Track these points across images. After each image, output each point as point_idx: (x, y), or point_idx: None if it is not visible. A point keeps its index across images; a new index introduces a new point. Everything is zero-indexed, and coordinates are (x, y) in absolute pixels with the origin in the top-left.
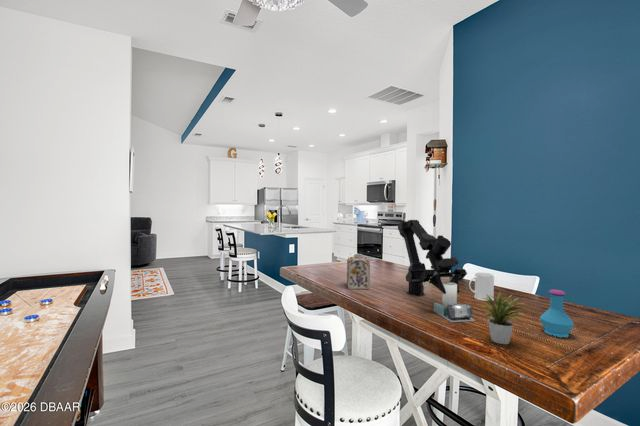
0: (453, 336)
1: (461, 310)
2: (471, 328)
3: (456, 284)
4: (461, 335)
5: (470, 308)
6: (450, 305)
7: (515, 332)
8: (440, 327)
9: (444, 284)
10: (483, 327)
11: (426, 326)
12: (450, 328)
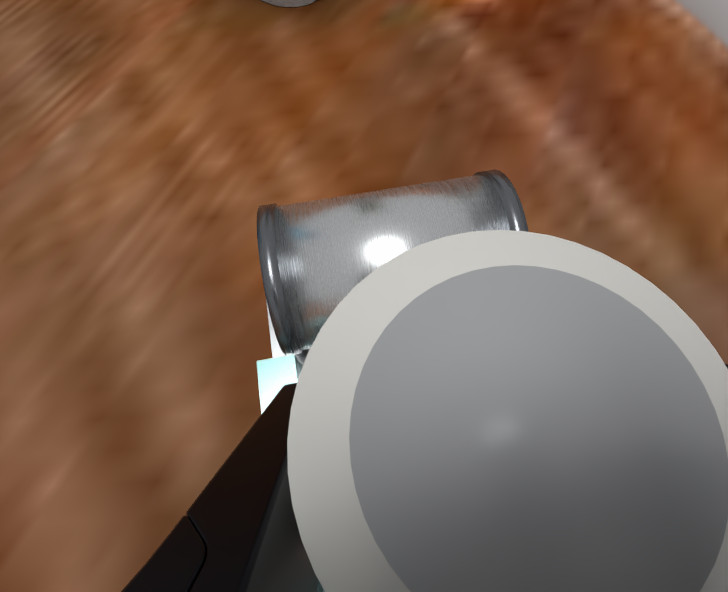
0: (554, 9)
1: (393, 188)
2: (372, 120)
3: (316, 382)
4: (496, 22)
5: (273, 207)
6: (516, 201)
7: (96, 73)
8: (605, 127)
9: (720, 362)
10: (268, 139)
11: (712, 139)
12: (533, 114)
